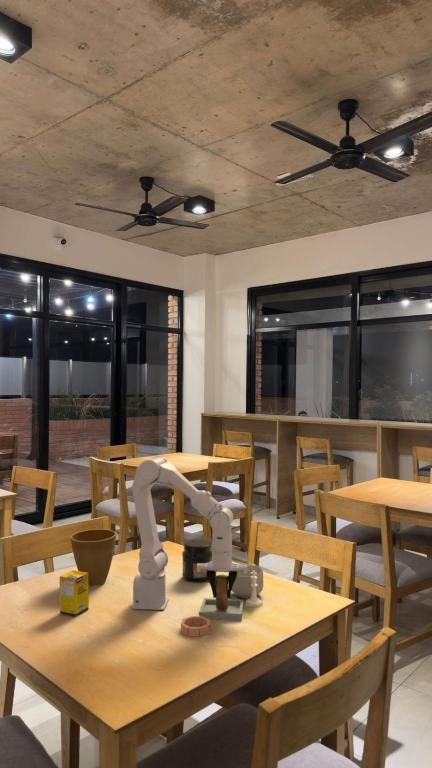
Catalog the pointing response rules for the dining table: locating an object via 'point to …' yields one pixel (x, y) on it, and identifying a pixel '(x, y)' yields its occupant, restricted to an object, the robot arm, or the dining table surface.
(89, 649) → the dining table surface
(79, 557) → the plant pot
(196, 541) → the supplement container
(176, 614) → the dining table surface
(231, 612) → the tray
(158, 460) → the robot arm
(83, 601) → the supplement box
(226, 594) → the dowel
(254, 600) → the chess piece
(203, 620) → the ring holder
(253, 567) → the teacup
